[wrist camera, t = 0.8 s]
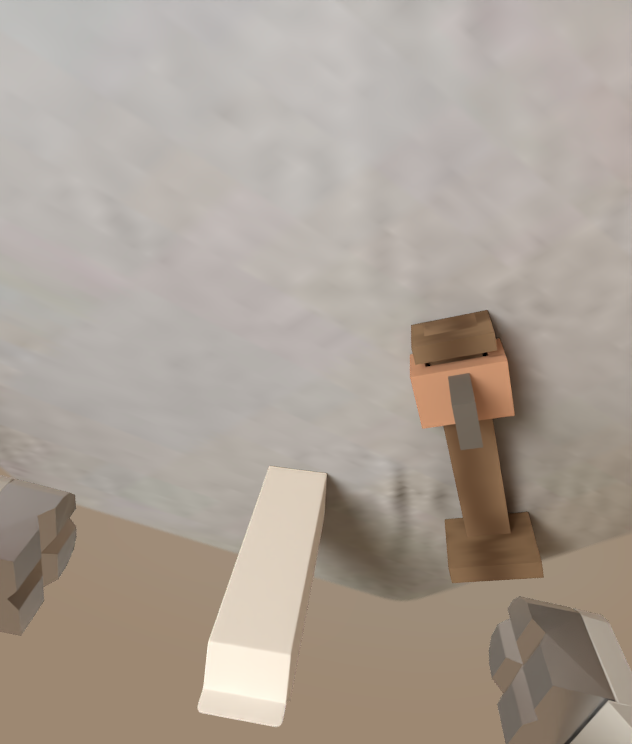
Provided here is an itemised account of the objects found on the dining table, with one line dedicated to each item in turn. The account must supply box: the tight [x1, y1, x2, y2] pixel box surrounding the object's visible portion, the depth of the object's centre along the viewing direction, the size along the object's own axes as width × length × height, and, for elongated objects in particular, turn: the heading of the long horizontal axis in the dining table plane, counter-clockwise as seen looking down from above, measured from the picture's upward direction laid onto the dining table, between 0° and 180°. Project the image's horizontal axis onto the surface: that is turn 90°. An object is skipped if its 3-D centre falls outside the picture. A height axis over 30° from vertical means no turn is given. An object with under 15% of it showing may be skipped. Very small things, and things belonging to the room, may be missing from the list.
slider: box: [410, 338, 515, 450], centre depth 40 cm, size 7×5×8 cm
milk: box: [198, 466, 327, 727], centre depth 44 cm, size 6×6×22 cm
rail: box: [411, 310, 544, 583], centre depth 44 cm, size 8×24×6 cm, turn 17°
